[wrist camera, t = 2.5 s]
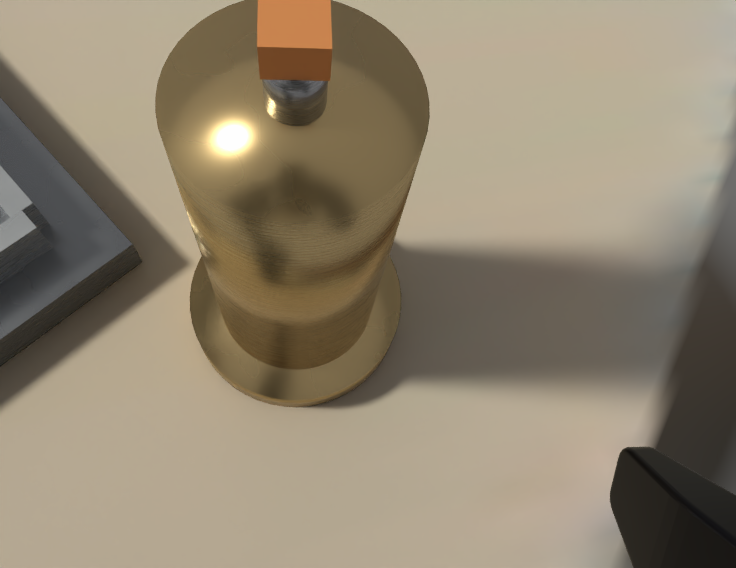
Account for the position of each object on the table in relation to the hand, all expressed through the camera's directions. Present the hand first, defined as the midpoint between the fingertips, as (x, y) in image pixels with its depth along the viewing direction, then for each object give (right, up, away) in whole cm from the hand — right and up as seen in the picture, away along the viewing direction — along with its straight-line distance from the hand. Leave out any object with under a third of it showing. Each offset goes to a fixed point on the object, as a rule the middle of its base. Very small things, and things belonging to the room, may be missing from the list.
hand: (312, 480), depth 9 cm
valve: (-2, +2, +15) cm, 15 cm away
